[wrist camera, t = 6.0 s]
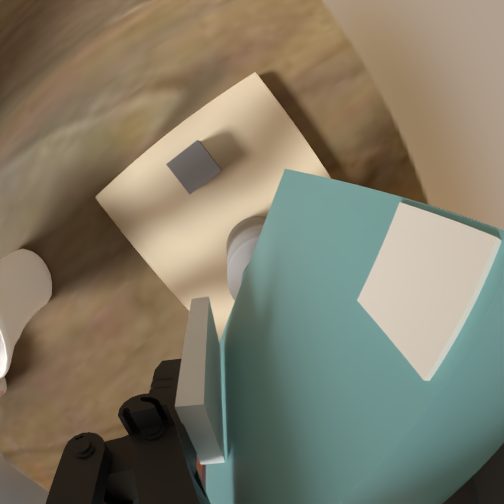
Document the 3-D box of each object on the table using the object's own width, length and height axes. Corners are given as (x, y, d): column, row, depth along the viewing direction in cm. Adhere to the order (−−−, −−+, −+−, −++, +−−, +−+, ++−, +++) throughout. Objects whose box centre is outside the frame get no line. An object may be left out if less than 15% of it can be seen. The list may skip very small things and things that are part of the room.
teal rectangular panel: (207, 356, 17) (203, 588, 5) (278, 167, 15) (513, 233, 2) (263, 370, 18) (306, 586, 5) (340, 192, 15) (589, 304, 3)
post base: (102, 194, 22) (54, 212, 15) (253, 77, 20) (266, 42, 13) (257, 372, 27) (267, 433, 20) (387, 283, 26) (433, 324, 19)
